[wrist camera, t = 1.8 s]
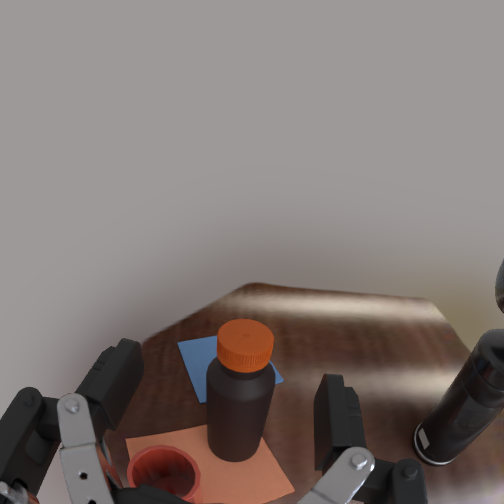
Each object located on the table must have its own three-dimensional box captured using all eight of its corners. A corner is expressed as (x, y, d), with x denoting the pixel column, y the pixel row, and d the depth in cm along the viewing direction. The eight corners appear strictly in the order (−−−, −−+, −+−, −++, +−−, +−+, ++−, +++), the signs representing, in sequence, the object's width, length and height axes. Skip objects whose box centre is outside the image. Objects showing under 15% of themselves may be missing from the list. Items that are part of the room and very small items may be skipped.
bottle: (217, 469, 29) (220, 371, 21) (201, 428, 35) (197, 318, 26) (267, 454, 32) (299, 352, 23) (247, 417, 37) (264, 307, 29)
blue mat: (248, 330, 56) (248, 329, 56) (283, 381, 45) (283, 380, 45) (177, 343, 50) (177, 342, 50) (200, 403, 39) (200, 402, 39)
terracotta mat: (248, 414, 38) (248, 413, 38) (294, 491, 27) (295, 490, 27) (125, 439, 31) (125, 438, 31) (152, 530, 20) (151, 530, 19)
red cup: (192, 469, 29) (187, 439, 25) (212, 515, 23) (211, 496, 19) (138, 479, 26) (121, 449, 22) (154, 526, 20) (136, 510, 16)
